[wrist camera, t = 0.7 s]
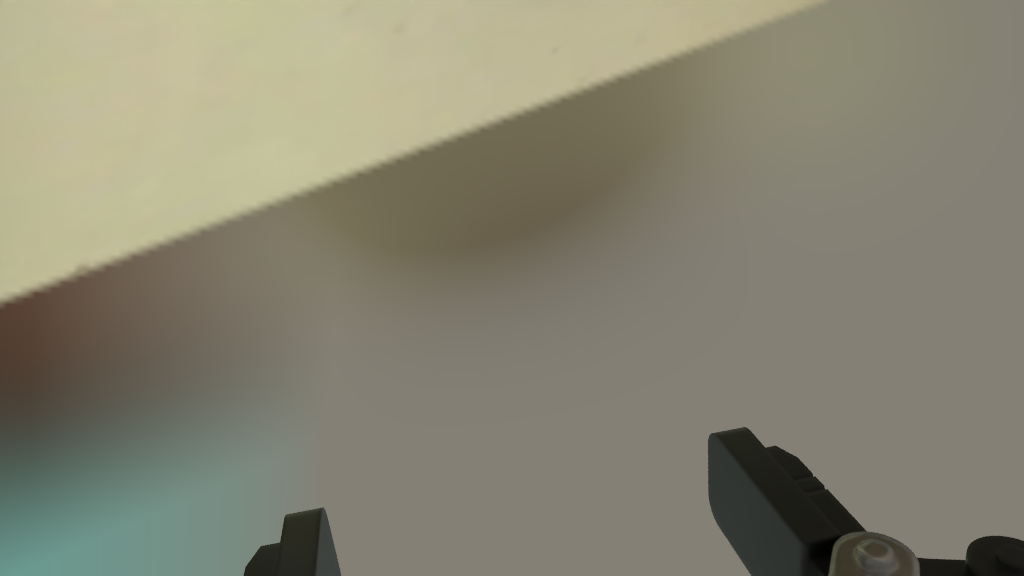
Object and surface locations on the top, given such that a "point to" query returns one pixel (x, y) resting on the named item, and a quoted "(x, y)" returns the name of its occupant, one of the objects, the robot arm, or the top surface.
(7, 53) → the top surface
